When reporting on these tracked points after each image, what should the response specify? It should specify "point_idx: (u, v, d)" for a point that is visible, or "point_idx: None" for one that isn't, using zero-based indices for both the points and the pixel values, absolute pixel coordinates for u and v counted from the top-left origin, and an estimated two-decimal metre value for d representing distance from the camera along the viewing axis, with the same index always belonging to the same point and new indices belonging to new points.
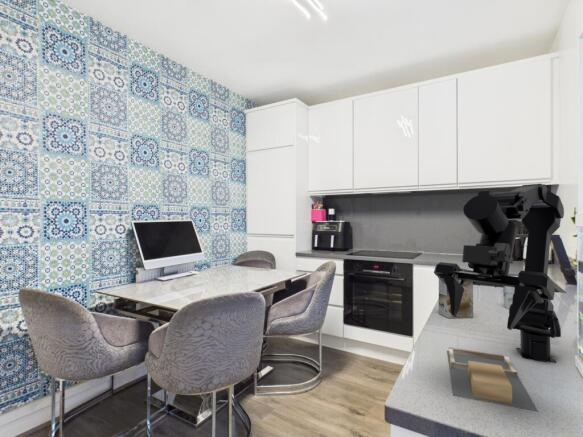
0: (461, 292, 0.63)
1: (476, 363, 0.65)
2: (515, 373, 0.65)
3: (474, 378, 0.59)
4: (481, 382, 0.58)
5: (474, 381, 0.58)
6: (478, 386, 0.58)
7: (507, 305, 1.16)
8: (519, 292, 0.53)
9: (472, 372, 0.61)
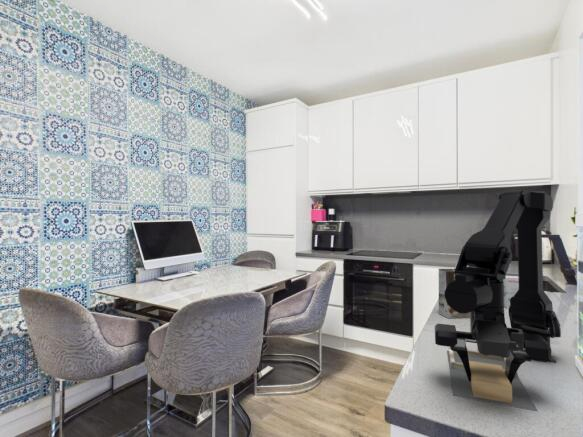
0: None
1: (476, 363, 0.65)
2: None
3: (474, 378, 0.59)
4: (481, 382, 0.58)
5: (474, 381, 0.58)
6: (478, 386, 0.58)
7: (507, 305, 1.16)
8: (517, 361, 0.57)
9: (472, 372, 0.61)
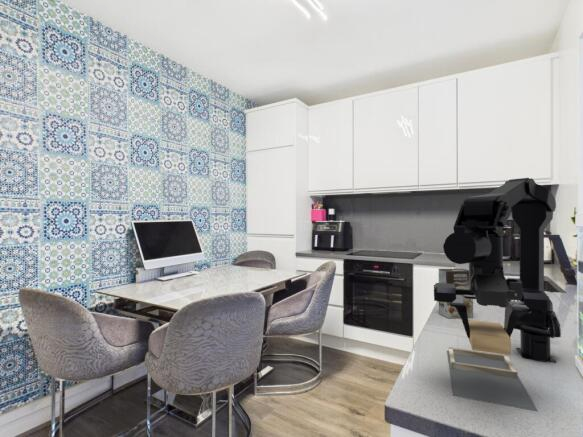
0: None
1: (475, 321, 0.65)
2: (515, 373, 0.65)
3: (473, 332, 0.59)
4: (479, 335, 0.58)
5: (473, 334, 0.58)
6: (477, 339, 0.58)
7: None
8: (515, 314, 0.57)
9: (471, 328, 0.61)
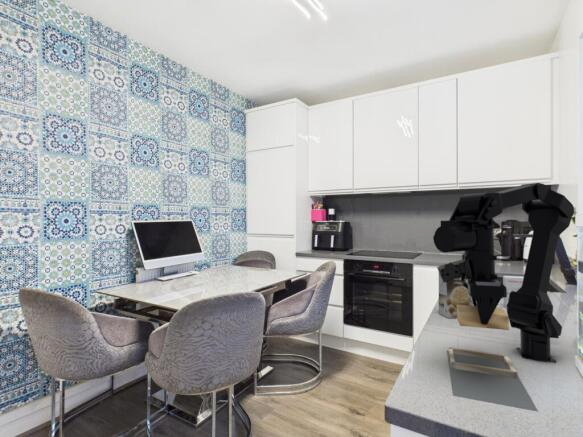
0: None
1: (498, 309, 0.69)
2: (515, 373, 0.65)
3: (460, 305, 0.73)
4: (457, 306, 0.73)
5: None
6: None
7: None
8: None
9: (472, 306, 0.72)
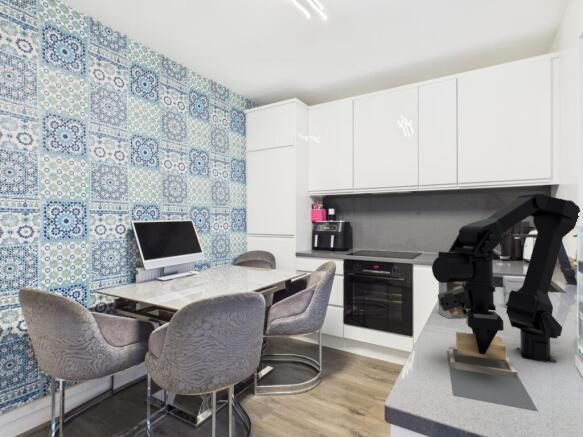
0: None
1: (496, 338, 0.71)
2: (515, 373, 0.65)
3: (460, 332, 0.75)
4: (456, 334, 0.75)
5: (456, 332, 0.76)
6: (456, 336, 0.75)
7: None
8: None
9: None
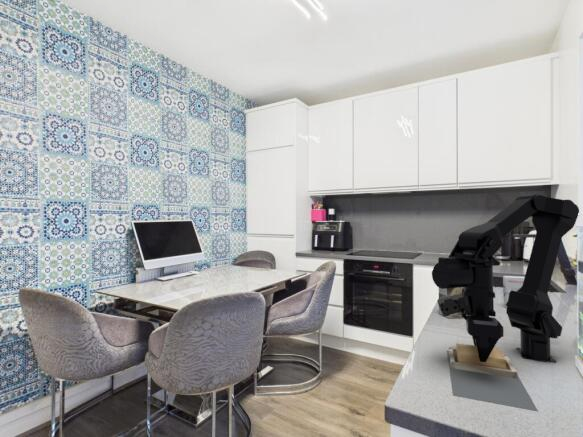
0: None
1: (496, 350, 0.71)
2: (515, 373, 0.65)
3: (460, 344, 0.75)
4: (456, 345, 0.75)
5: (456, 344, 0.76)
6: (456, 348, 0.75)
7: None
8: None
9: (472, 345, 0.74)
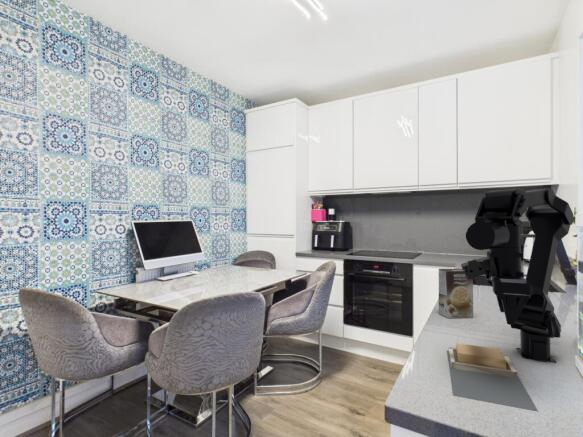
0: None
1: (496, 350, 0.71)
2: (515, 373, 0.65)
3: (460, 344, 0.75)
4: (456, 345, 0.75)
5: (456, 344, 0.76)
6: (456, 348, 0.75)
7: None
8: None
9: (472, 345, 0.74)
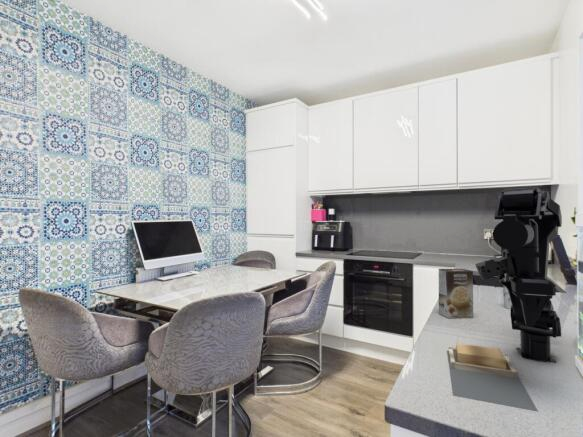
0: None
1: (496, 350, 0.71)
2: (515, 373, 0.65)
3: (460, 344, 0.75)
4: (456, 345, 0.75)
5: (456, 344, 0.76)
6: (456, 348, 0.75)
7: (507, 305, 1.16)
8: None
9: (472, 345, 0.74)
